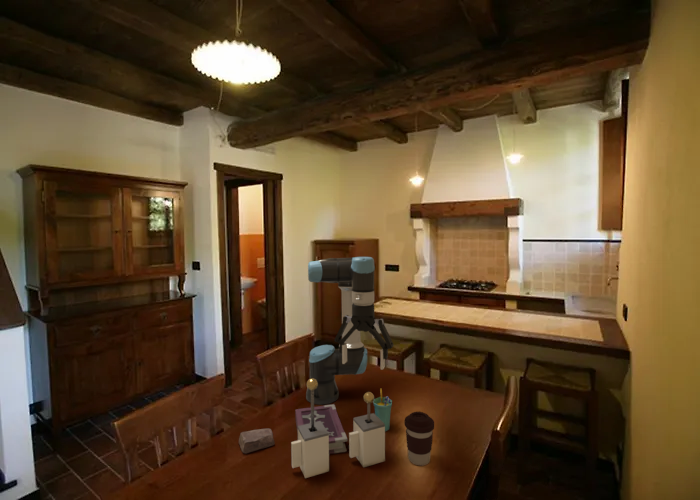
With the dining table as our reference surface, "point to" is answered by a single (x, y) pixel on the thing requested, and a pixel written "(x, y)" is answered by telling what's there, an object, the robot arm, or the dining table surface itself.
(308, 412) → the book
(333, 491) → the dining table surface
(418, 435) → the coffee cup
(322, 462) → the cream joystick box
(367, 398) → the plunger
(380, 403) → the cup
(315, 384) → the plunger
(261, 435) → the stone
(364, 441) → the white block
